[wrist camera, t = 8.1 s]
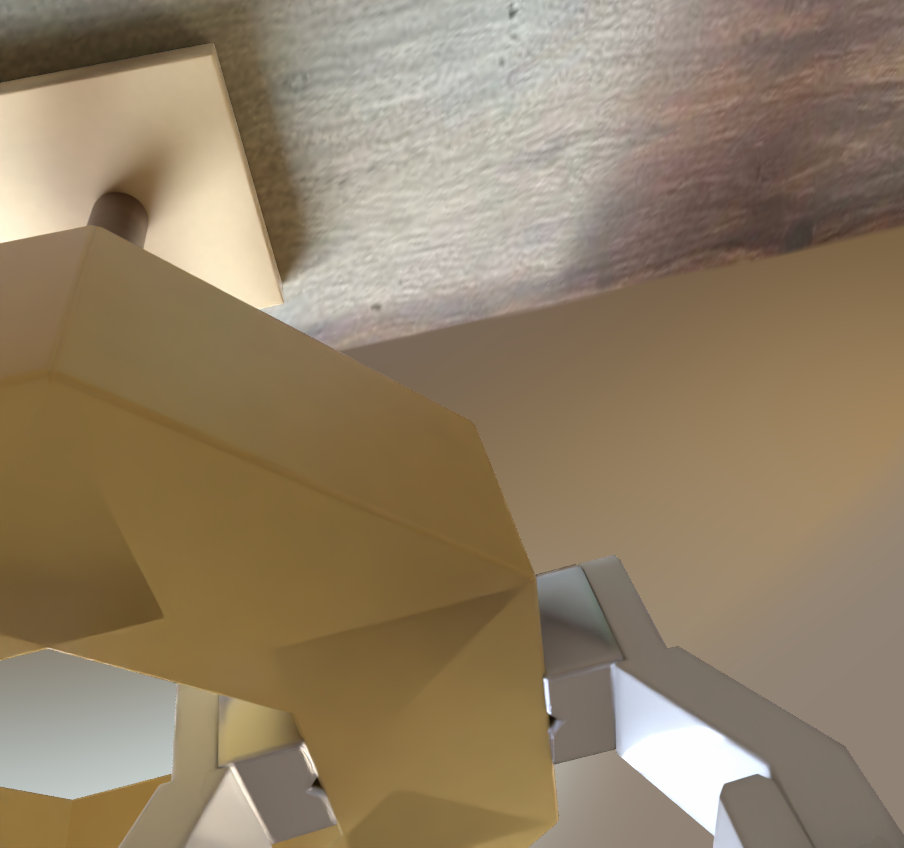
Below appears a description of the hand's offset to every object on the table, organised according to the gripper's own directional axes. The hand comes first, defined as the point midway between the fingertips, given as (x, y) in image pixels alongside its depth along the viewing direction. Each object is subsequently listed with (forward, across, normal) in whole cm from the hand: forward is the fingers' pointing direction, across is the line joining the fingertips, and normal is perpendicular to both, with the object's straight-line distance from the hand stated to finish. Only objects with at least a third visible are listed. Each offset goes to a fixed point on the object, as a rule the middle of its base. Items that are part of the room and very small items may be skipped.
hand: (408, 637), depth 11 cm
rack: (+23, +6, +2) cm, 24 cm away
